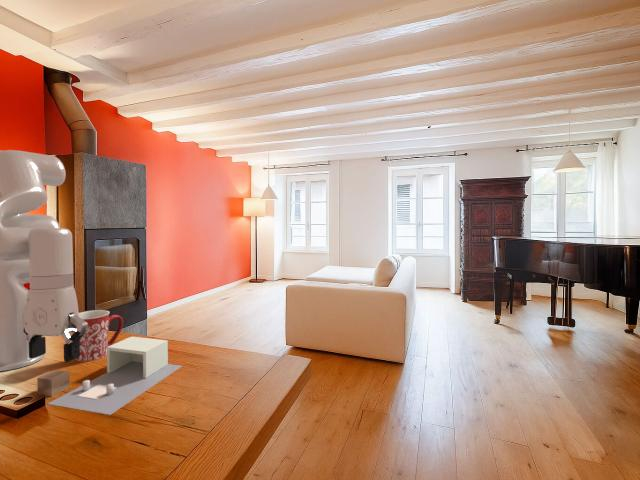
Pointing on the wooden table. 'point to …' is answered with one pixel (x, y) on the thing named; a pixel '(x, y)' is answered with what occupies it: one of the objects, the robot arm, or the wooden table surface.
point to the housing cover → (138, 354)
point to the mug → (97, 334)
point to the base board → (113, 389)
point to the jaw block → (53, 383)
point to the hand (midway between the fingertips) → (54, 357)
